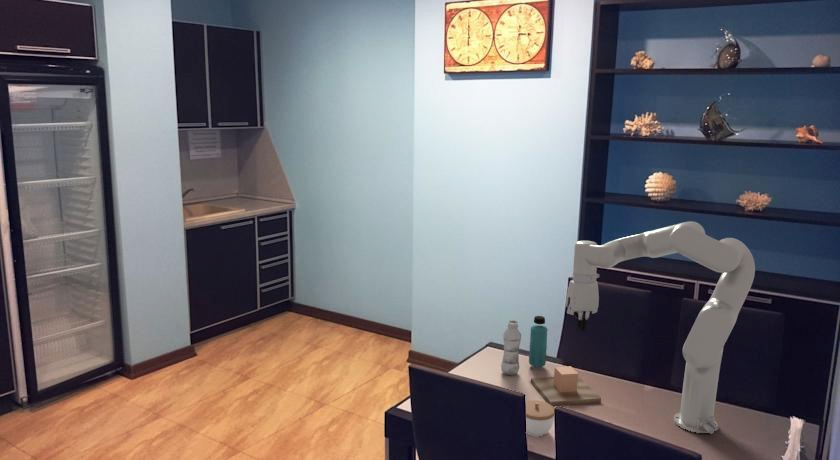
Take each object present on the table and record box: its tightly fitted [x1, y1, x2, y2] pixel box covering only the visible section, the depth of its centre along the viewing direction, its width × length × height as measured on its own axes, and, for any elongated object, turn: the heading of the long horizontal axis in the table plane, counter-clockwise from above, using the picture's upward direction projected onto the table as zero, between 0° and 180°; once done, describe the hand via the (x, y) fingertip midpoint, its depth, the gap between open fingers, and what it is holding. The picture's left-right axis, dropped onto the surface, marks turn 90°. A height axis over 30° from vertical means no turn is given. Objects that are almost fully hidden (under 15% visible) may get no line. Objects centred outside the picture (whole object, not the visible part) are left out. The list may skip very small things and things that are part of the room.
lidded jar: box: [525, 399, 555, 438], centre depth 187 cm, size 11×11×9 cm
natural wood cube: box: [553, 365, 579, 392], centre depth 214 cm, size 6×6×6 cm
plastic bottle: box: [500, 319, 522, 376], centre depth 226 cm, size 6×7×20 cm
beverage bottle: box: [528, 315, 549, 368], centre depth 233 cm, size 6×7×20 cm
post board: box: [530, 375, 602, 407], centre depth 214 cm, size 18×18×6 cm
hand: (581, 329), depth 211 cm, fingers closed
